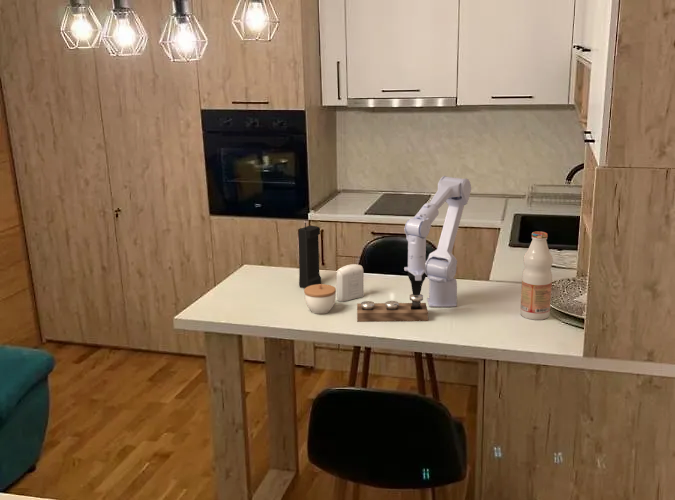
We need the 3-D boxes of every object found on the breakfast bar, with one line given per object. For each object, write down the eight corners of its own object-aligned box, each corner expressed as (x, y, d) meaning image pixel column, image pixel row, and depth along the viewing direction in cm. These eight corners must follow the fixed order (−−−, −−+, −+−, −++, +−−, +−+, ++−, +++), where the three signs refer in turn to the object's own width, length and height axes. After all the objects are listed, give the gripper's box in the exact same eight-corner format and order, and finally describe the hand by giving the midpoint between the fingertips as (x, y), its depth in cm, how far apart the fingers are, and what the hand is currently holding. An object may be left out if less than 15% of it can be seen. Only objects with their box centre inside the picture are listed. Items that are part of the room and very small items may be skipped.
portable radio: (310, 281, 277) (308, 217, 270) (323, 284, 273) (321, 219, 266) (297, 287, 271) (295, 222, 264) (310, 290, 267) (308, 224, 260)
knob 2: (422, 305, 241) (422, 293, 240) (423, 310, 237) (423, 297, 236) (409, 305, 241) (409, 293, 240) (410, 310, 237) (410, 298, 236)
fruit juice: (515, 316, 238) (519, 234, 230) (526, 308, 245) (531, 228, 237) (543, 322, 233) (548, 238, 225) (553, 313, 240) (559, 231, 232)
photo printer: (358, 293, 263) (358, 261, 259) (365, 296, 259) (365, 263, 256) (334, 299, 257) (334, 266, 254) (341, 302, 254) (341, 269, 250)
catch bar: (425, 311, 244) (425, 302, 243) (427, 321, 236) (428, 312, 235) (357, 311, 245) (357, 303, 244) (357, 321, 236) (357, 313, 236)
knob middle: (398, 313, 242) (398, 300, 241) (398, 317, 238) (399, 305, 237) (385, 313, 242) (385, 300, 241) (385, 318, 238) (385, 305, 237)
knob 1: (374, 313, 243) (374, 300, 241) (374, 318, 238) (374, 305, 237) (361, 313, 243) (361, 301, 241) (361, 318, 238) (361, 305, 237)
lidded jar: (337, 305, 252) (336, 279, 249) (335, 316, 241) (334, 289, 239) (306, 305, 252) (305, 279, 250) (303, 316, 242) (302, 289, 239)
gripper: (403, 248, 241) (402, 287, 245) (405, 261, 227) (405, 302, 231) (424, 248, 241) (423, 287, 245) (428, 261, 227) (427, 302, 231)
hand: (416, 294), depth 238 cm, fingers closed
